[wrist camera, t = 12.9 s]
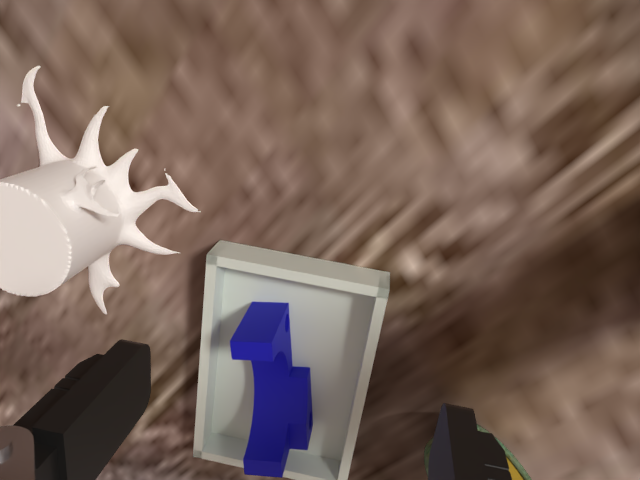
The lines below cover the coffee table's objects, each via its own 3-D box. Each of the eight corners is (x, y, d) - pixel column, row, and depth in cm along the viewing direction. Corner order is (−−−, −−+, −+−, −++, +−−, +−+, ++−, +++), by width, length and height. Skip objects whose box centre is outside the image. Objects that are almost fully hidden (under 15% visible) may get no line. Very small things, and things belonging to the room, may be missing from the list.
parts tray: (389, 272, 38) (389, 289, 36) (347, 464, 46) (344, 490, 43) (219, 240, 39) (206, 254, 37) (204, 432, 47) (192, 456, 44)
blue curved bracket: (312, 425, 44) (301, 479, 38) (263, 421, 44) (244, 474, 39) (307, 303, 40) (293, 344, 34) (252, 301, 40) (229, 341, 35)
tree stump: (244, 252, 40) (210, 298, 32) (72, 342, 46) (9, 399, 38) (93, 19, 35) (12, 10, 28) (-79, 151, 41) (-185, 173, 33)
